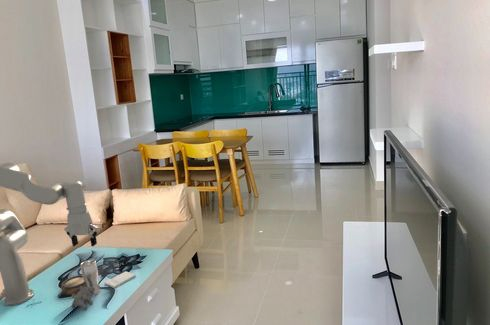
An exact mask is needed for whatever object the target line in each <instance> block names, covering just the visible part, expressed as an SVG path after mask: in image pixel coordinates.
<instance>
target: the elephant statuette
mask: <svg viewBox="0 0 490 325" xmlns="http://www.w3.org/2000/svg"><path fill="white" fill-rule="evenodd" d="M94 290H95V288H94V287H93V286H90V287H82V286H80V291H79V292H78V293H77V294H73V295H71V299H73V301H72V303H71V308H72V309H73V310H74V309H75V308H76V307H79V308H80V307H81V308H82V310H83V311H87V310H88V307H87V306H86V304H85V302H87V303H88V304H89V305H90V306H91V305H93V304H94V302H93V299H92V296H91V294H90V293H93V292H94Z"/></svg>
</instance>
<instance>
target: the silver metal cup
mask: <svg viewBox="0 0 490 325" xmlns="http://www.w3.org/2000/svg"><path fill="white" fill-rule="evenodd" d="M80 272H81V275H82V277H83V279H84V282H85V284H86V287H90V286H93V287H94V288H95V290H94V292H93V293H90V294H91V297H92V296H96V295H98V294H100V293H101V287H100V284H99V268H98V266H97V262H96V259H88V260H85V261H83V262H81V263H80Z"/></svg>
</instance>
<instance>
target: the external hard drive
mask: <svg viewBox="0 0 490 325" xmlns="http://www.w3.org/2000/svg"><path fill="white" fill-rule="evenodd" d="M136 277H137V276H136V274H135V273H132V272H130V271H129V272H128V271H124V272H122V273H120V274H117V275H116V276H115V277H113V278H111V279H109V280H107V281H105V282H104V285H106V286H108V287H110V288H113V289H116V288H118V287H120V286H122V285H123V284H125V283H126V282H129V281H131V280H132V279H134V278H136Z"/></svg>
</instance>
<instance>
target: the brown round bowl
mask: <svg viewBox="0 0 490 325" xmlns="http://www.w3.org/2000/svg"><path fill="white" fill-rule="evenodd" d="M80 286H82V287H86V284H85V282H84V279H83V277H82V274H79V275H73V276H71V277H68V278H67V279H65V280H64V281H62V283H61V285H60V290H61V294H62V295H64V296H72V295H73V294H77V293H78V292H79V291H80Z"/></svg>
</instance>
